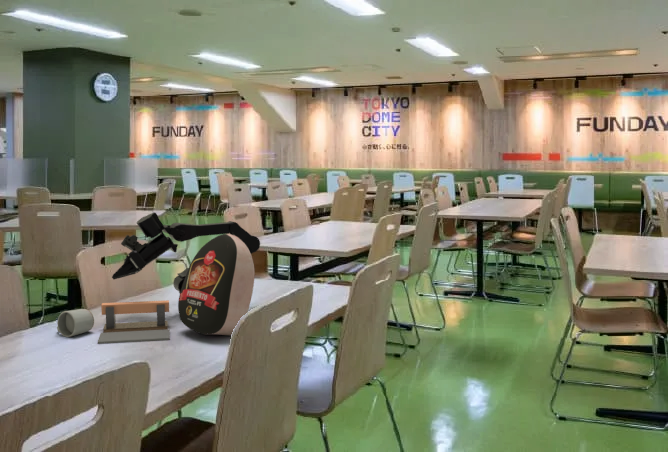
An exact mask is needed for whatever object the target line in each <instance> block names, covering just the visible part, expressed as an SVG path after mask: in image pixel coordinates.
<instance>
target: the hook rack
mask: <svg viewBox="0 0 668 452" xmlns="http://www.w3.org/2000/svg"><path fill="white" fill-rule="evenodd" d="M168 323H169V322H168V320H166V312H165V304H164V305H157V312H156V320H155V321H134V322H132V321H131V322H116V314H114V307H106V315H105V323H104V326H103V328H102V333H107V332H127V331H147V330H166V329H169V324H168Z"/></svg>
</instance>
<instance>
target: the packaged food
mask: <svg viewBox="0 0 668 452" xmlns="http://www.w3.org/2000/svg"><path fill="white" fill-rule="evenodd" d="M187 268H188V271H187V274H186V277H185V280H184V282H183V285H182V288H181V292H180V293H179V295H178V300H177V301H178V302H177V304H178V305H177V309H178V310H177V311H178V316H179V319H180V322H182V324H183V325H184V326H185V327H187V328H188V329H190V330H192V331H194V332H196V333H199V334H201V335H220V336H221V335H222V336H232V335H231V334H232V332H233V329H234V328H235V326H236V325H237V323H238V321H239V320H240V318H241V317H242V316H243V315H245V314H246V313H247V314H248V312H249V308H250V305H251V302H252V297H253V293H254V286H255V285H254V284H255V275H256V274H255V265H254V259H253V256H252V254H251V253H250V251H249V249H248V248H247V246H246V245H245V243H244V242H242V241H241V240H240V239H239V238H238V237H236V236H234V235H231V234H230V233H229V234H218V236H217V235H216V237H213V238H212V239H211V240H209V241H208V242H206V243H204V245H203V246H202V247H200V248H199V250H198V251H197V252H196V254H195V256H194V257H193V259H191V262H190V264H189V266H188V267H187Z"/></svg>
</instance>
